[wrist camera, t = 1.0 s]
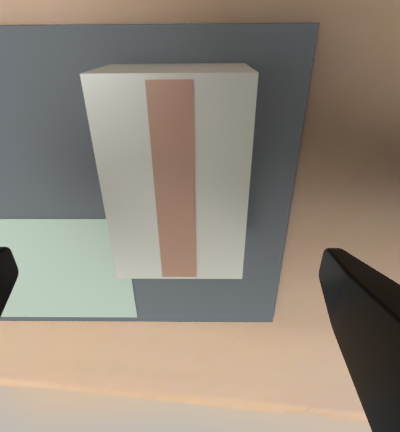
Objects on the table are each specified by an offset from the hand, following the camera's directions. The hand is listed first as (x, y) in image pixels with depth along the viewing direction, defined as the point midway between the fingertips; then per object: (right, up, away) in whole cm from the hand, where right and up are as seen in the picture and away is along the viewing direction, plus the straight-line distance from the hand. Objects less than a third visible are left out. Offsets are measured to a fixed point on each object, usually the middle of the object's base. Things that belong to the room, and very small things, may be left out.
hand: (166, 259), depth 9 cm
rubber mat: (-5, +2, +9) cm, 11 cm away
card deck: (0, +4, +7) cm, 8 cm away
